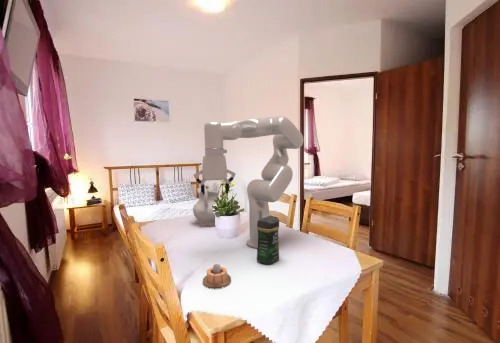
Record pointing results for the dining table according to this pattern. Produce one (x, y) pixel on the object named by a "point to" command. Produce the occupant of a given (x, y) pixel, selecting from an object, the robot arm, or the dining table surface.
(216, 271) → the post stand
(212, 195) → the ceramic pitcher
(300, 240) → the dining table surface
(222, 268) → the ring
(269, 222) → the coffee jar
